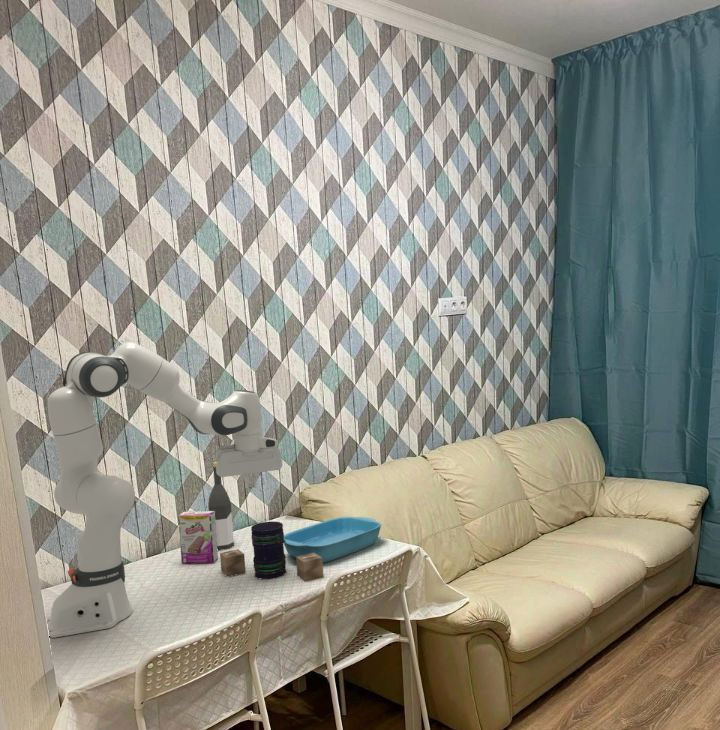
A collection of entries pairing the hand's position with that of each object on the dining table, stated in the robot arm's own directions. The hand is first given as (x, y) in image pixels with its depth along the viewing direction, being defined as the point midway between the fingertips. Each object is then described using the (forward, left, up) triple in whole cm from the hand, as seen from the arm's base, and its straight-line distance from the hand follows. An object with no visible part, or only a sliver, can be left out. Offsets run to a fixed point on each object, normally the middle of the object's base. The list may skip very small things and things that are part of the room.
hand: (250, 487), depth 214 cm
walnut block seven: (-5, +7, -27) cm, 29 cm away
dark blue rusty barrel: (+4, -2, -27) cm, 28 cm away
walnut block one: (+13, -12, -27) cm, 32 cm away
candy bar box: (-11, +24, -27) cm, 38 cm away
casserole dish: (+30, +7, -28) cm, 41 cm away
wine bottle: (0, +35, -27) cm, 45 cm away
